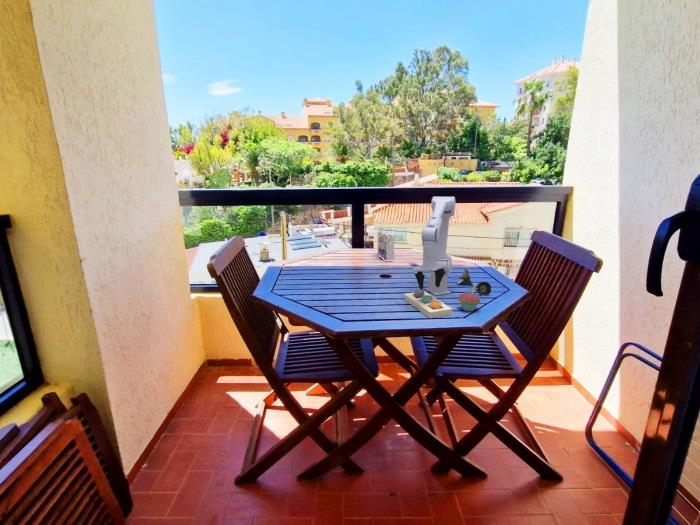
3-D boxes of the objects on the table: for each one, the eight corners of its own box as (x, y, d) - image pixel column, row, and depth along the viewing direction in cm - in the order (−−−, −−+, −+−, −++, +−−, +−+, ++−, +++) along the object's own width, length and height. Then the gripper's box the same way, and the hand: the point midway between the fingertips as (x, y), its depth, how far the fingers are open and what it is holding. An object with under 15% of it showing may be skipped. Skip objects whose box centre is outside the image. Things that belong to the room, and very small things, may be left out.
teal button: (419, 301, 167) (419, 296, 166) (429, 300, 168) (429, 294, 167) (424, 305, 163) (424, 299, 162) (434, 304, 164) (434, 298, 163)
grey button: (412, 296, 173) (412, 291, 172) (421, 295, 174) (421, 289, 174) (417, 299, 169) (417, 294, 168) (426, 298, 170) (426, 292, 170)
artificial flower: (474, 300, 176) (469, 279, 174) (456, 289, 198) (451, 271, 196) (493, 293, 176) (487, 272, 174) (473, 283, 198) (468, 265, 196)
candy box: (377, 256, 249) (377, 231, 245) (385, 256, 251) (385, 230, 247) (385, 262, 237) (385, 235, 232) (394, 261, 238) (394, 234, 234)
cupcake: (474, 305, 165) (477, 278, 162) (482, 313, 157) (485, 284, 154) (454, 305, 165) (457, 278, 162) (461, 313, 157) (463, 284, 154)
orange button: (427, 307, 160) (428, 301, 160) (437, 306, 162) (437, 300, 161) (433, 311, 156) (433, 305, 156) (443, 309, 157) (443, 303, 157)
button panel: (404, 299, 175) (404, 293, 174) (424, 296, 178) (424, 291, 177) (429, 318, 154) (429, 312, 153) (452, 314, 157) (452, 308, 156)
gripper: (418, 260, 154) (418, 293, 157) (450, 256, 158) (449, 288, 162) (410, 256, 160) (410, 287, 164) (441, 252, 165) (440, 283, 168)
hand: (429, 287), depth 163 cm, fingers open, 7 cm apart
